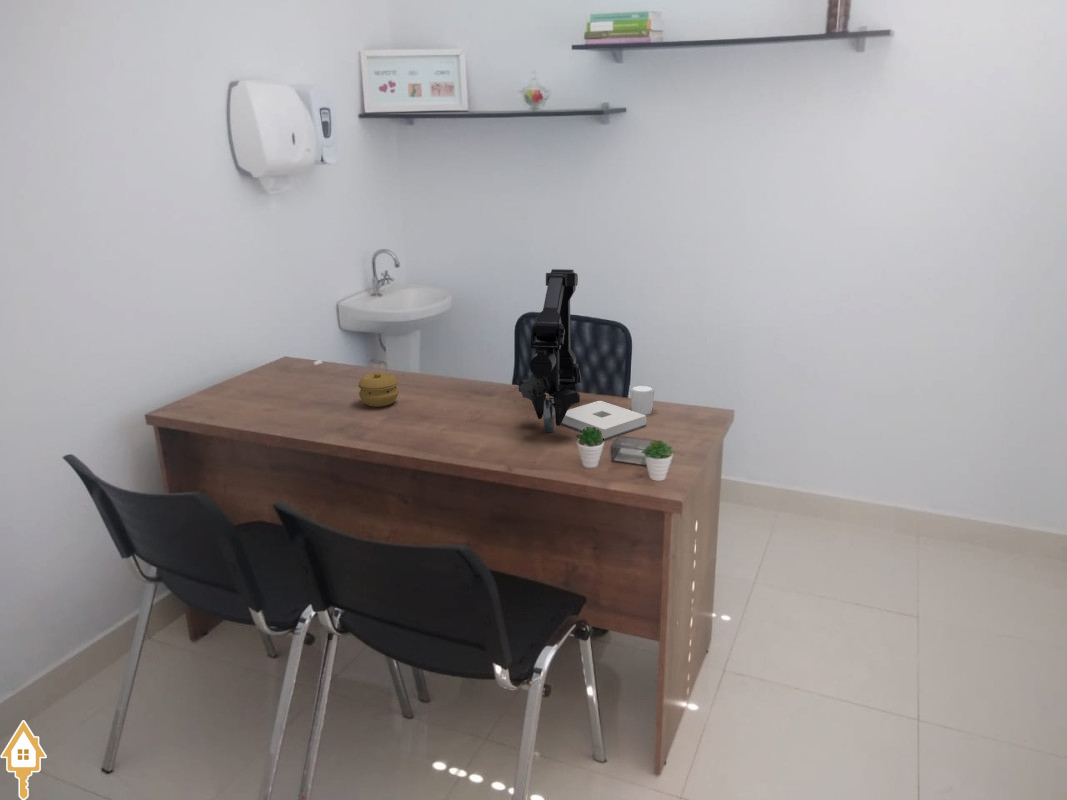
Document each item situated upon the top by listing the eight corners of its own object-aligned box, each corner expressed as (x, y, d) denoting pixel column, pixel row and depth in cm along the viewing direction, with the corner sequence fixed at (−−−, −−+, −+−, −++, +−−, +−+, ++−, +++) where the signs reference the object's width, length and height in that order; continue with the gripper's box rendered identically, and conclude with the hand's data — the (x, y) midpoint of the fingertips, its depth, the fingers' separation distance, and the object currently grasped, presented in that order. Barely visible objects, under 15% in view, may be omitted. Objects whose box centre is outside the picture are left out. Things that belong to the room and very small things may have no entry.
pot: (352, 408, 244) (349, 376, 241) (372, 396, 254) (369, 365, 251) (387, 412, 240) (385, 379, 237) (406, 400, 251) (404, 368, 248)
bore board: (558, 423, 228) (558, 412, 227) (599, 410, 238) (599, 400, 237) (604, 440, 215) (604, 429, 214) (646, 425, 225) (646, 415, 224)
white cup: (648, 417, 232) (648, 393, 230) (625, 413, 235) (626, 389, 233) (657, 410, 237) (658, 386, 235) (635, 406, 241) (636, 383, 239)
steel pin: (541, 430, 223) (541, 399, 220) (549, 428, 224) (549, 397, 222) (548, 433, 221) (548, 401, 218) (556, 431, 222) (556, 399, 220)
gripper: (502, 365, 219) (504, 420, 224) (548, 379, 205) (549, 438, 210) (534, 357, 226) (535, 411, 230) (581, 371, 212) (581, 428, 217)
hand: (549, 422), depth 222 cm, fingers open, 7 cm apart
